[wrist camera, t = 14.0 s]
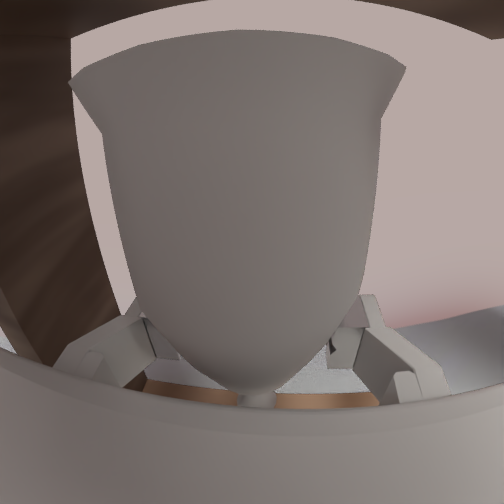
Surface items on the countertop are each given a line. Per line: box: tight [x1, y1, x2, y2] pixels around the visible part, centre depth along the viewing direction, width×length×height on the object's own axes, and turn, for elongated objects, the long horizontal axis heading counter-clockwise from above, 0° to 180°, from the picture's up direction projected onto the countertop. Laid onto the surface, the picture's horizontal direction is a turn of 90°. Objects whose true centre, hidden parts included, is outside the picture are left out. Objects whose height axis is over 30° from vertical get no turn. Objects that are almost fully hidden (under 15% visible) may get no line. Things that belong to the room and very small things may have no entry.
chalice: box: [68, 30, 406, 408], centre depth 10 cm, size 7×7×18 cm
